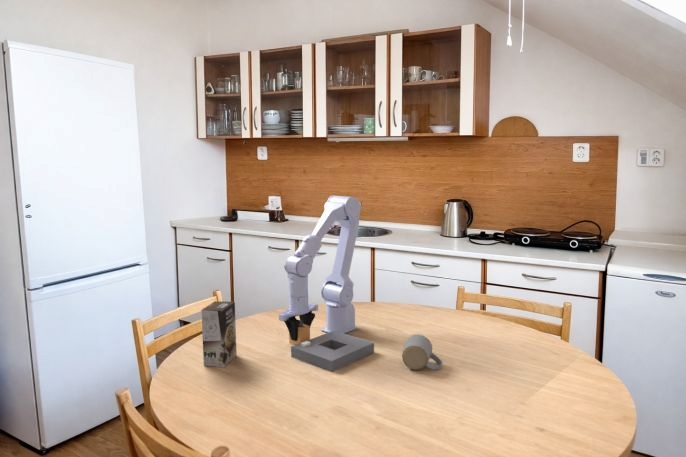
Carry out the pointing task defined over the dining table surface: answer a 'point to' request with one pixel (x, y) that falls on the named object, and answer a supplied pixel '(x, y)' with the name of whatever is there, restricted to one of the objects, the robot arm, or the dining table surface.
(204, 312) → the coffee box
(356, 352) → the socket plate
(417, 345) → the ceramic mug
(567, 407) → the dining table surface
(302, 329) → the plug
